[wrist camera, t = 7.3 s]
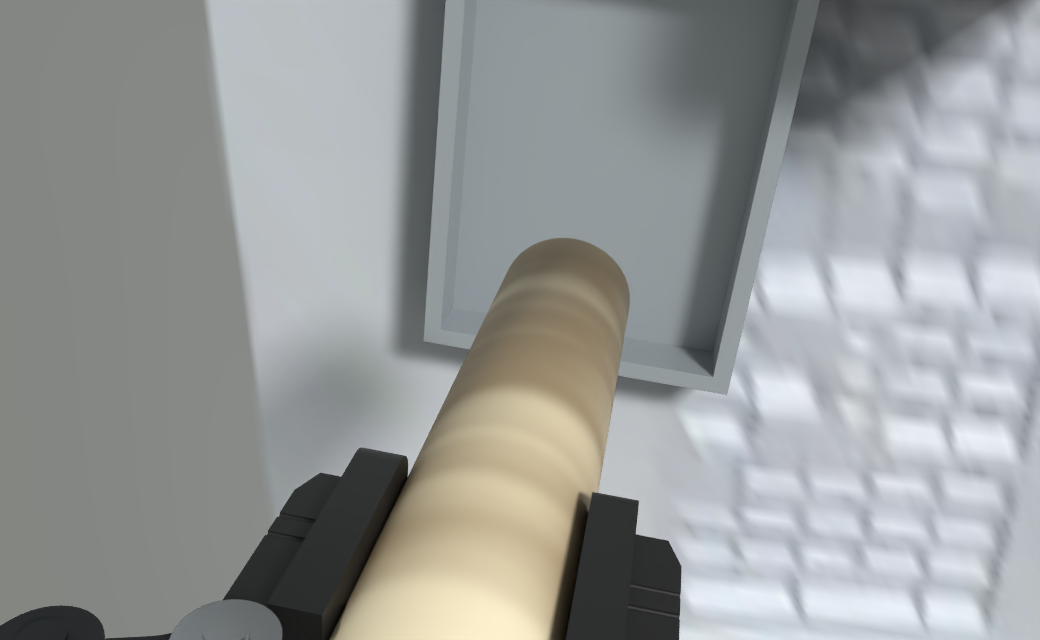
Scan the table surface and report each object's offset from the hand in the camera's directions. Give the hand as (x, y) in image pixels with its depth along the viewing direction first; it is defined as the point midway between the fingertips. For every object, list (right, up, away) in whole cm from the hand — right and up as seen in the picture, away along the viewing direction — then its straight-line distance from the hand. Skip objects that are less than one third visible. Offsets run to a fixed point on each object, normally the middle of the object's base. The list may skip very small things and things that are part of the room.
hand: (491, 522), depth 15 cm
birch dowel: (+2, +4, +8) cm, 9 cm away
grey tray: (+4, +9, +18) cm, 21 cm away
